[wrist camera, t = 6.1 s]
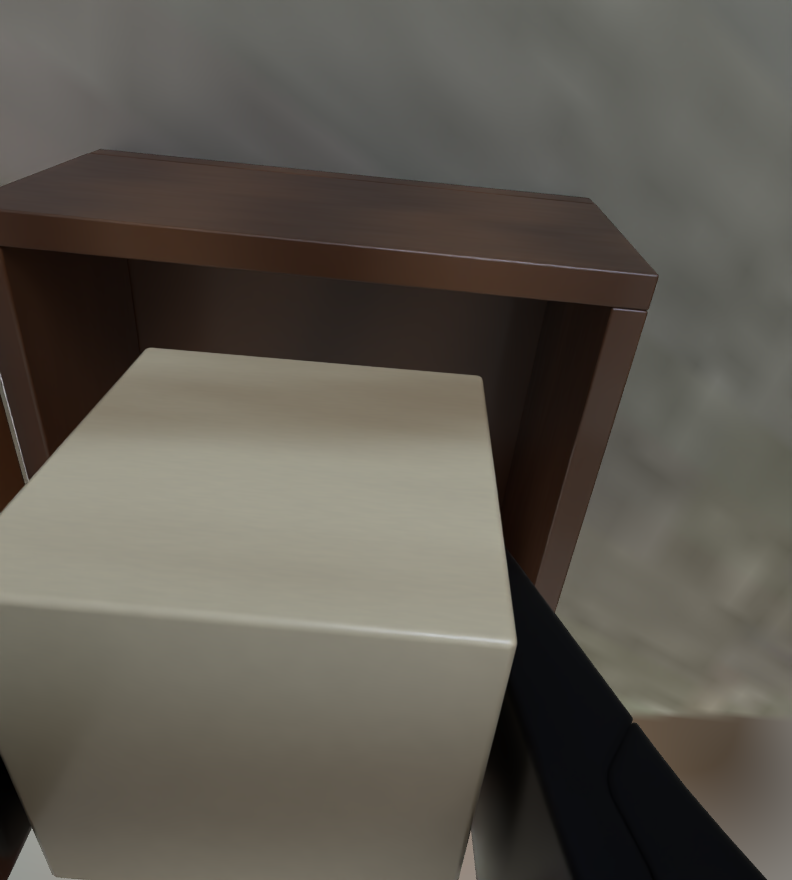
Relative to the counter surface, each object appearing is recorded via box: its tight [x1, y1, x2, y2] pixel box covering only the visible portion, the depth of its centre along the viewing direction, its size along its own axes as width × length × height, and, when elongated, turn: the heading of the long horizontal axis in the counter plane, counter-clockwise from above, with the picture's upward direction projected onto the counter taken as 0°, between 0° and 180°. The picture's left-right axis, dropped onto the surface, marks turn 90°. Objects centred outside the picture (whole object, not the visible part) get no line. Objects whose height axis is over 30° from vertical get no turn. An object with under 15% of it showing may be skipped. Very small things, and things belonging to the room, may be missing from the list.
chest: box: [0, 149, 658, 613], centre depth 18 cm, size 13×11×6 cm
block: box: [0, 348, 517, 880], centre depth 8 cm, size 5×5×5 cm
